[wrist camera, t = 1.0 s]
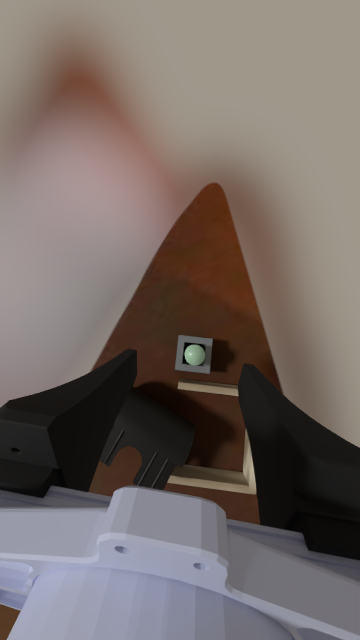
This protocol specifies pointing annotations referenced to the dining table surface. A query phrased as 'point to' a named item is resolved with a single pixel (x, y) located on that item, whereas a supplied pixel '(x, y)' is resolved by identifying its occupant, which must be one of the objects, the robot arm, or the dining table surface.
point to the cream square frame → (213, 476)
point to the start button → (194, 354)
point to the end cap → (150, 438)
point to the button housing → (188, 367)
